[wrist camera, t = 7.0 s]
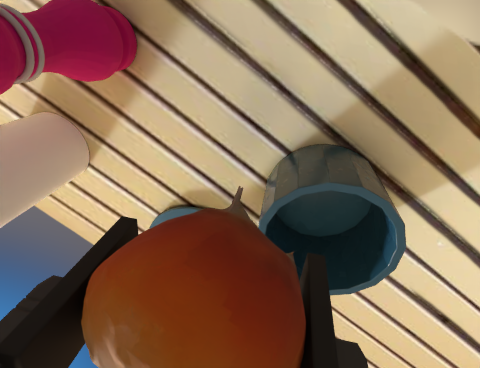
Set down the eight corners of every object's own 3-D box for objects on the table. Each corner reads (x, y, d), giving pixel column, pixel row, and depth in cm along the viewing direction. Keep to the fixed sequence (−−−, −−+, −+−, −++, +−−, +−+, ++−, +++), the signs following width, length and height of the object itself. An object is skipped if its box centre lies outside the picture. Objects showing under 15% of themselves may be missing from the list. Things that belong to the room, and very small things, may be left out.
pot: (274, 136, 33) (266, 172, 24) (396, 153, 31) (431, 198, 23) (259, 228, 39) (250, 280, 31) (359, 246, 38) (377, 306, 30)
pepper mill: (122, 88, 33) (-69, 152, 16) (69, 43, 32) (-205, 58, 14) (153, 36, 30) (-46, 45, 12) (96, -17, 28) (-221, -93, 11)
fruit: (391, 268, 10) (316, 569, 6) (271, 270, 17) (197, 419, 13) (232, 116, 9) (-5, 393, 5) (167, 184, 15) (46, 324, 11)
